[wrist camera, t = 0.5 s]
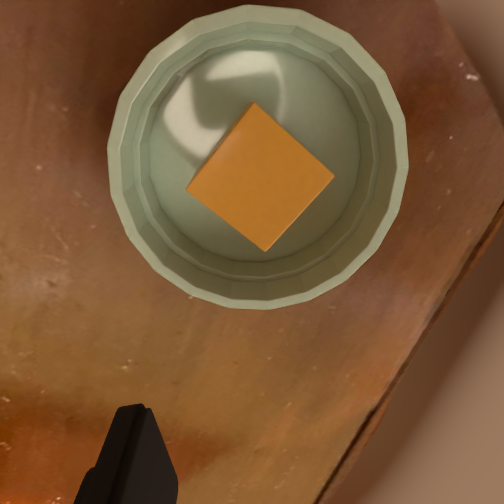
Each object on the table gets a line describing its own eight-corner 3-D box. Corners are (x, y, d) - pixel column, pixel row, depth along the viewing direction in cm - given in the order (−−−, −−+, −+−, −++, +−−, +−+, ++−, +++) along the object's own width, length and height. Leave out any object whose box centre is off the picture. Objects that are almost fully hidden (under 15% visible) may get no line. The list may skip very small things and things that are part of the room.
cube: (195, 170, 22) (184, 189, 17) (250, 101, 20) (254, 101, 16) (259, 222, 23) (265, 252, 18) (314, 160, 22) (335, 176, 17)
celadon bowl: (89, 179, 22) (50, 200, 18) (238, -40, 18) (239, -87, 14) (266, 307, 26) (272, 352, 21) (420, 148, 22) (468, 161, 18)
